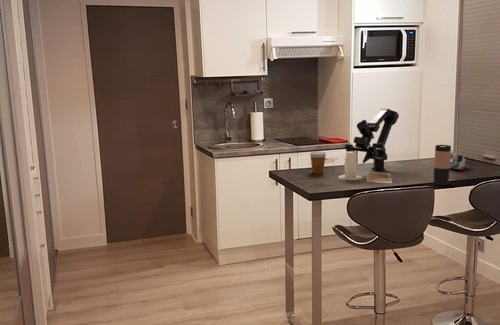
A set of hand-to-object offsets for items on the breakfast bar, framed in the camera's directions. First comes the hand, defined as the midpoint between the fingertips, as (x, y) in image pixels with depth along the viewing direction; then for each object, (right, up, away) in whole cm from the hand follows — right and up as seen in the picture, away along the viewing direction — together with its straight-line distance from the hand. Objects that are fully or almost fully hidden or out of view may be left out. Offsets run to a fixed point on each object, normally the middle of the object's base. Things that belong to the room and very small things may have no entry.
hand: (355, 162), depth 264 cm
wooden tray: (+10, -11, -10) cm, 18 cm away
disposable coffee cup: (-19, -6, +15) cm, 25 cm away
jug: (-4, -9, -3) cm, 10 cm away
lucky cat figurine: (+65, -4, +22) cm, 68 cm away
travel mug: (+41, -11, -16) cm, 46 cm away
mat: (-3, -9, -2) cm, 10 cm away
